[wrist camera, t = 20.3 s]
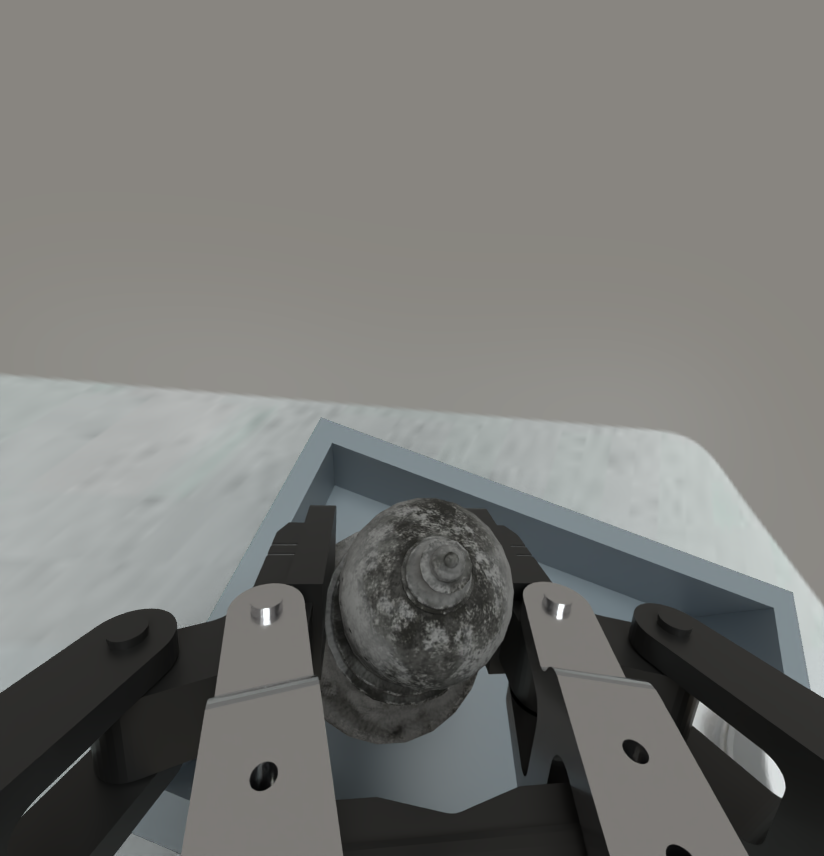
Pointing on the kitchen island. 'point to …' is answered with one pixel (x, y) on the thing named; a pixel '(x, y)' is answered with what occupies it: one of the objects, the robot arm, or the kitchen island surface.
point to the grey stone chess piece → (411, 619)
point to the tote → (486, 702)
